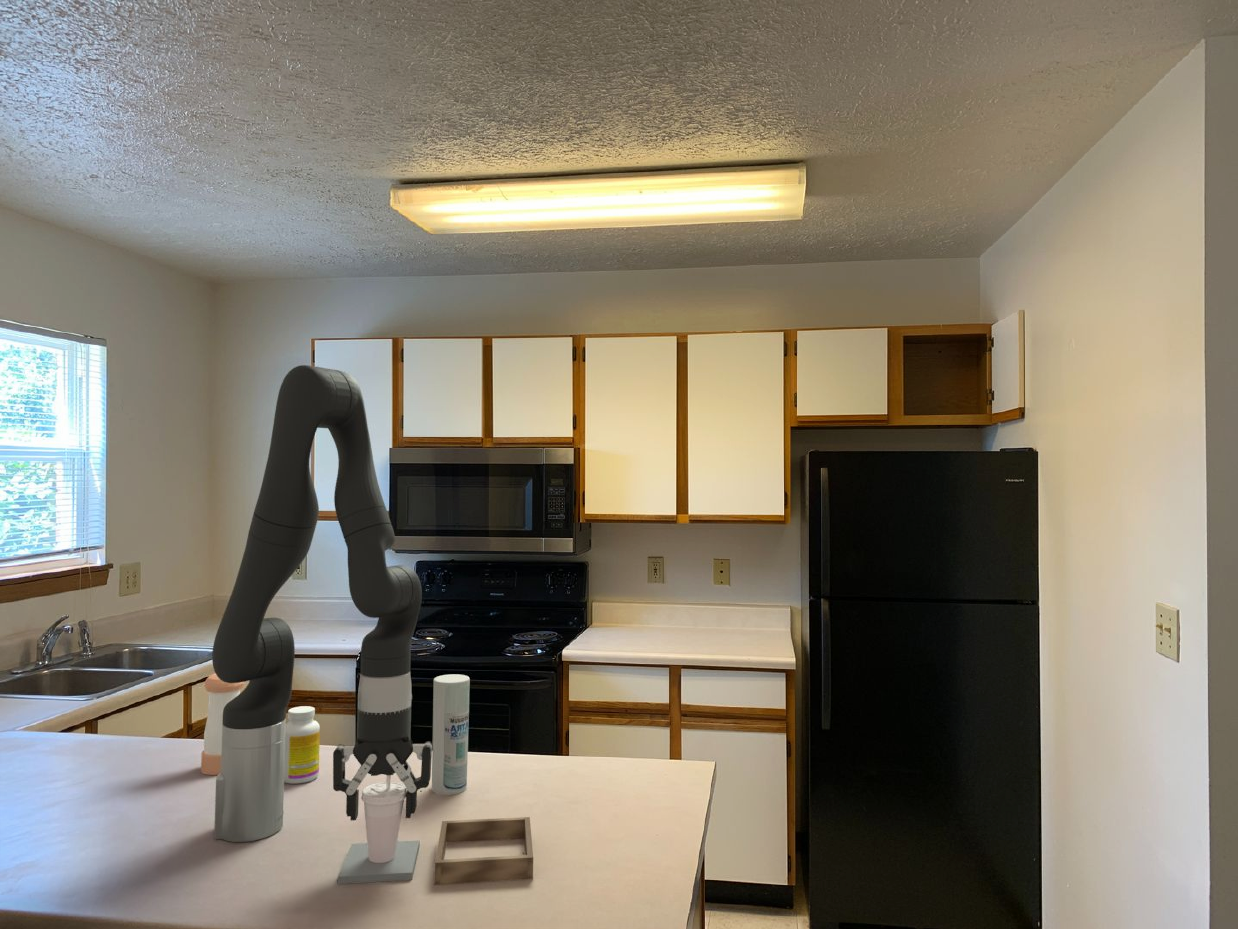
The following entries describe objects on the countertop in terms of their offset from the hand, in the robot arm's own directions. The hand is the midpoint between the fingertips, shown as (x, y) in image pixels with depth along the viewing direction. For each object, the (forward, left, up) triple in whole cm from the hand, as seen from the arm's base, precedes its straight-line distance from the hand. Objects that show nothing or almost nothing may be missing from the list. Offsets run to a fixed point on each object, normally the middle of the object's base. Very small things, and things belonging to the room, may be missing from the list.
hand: (381, 817), depth 113 cm
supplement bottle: (-20, +36, -7) cm, 42 cm away
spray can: (+8, +28, -7) cm, 30 cm away
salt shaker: (-36, +43, -7) cm, 57 cm away
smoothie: (0, 0, -6) cm, 6 cm away
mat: (0, 0, -7) cm, 7 cm away
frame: (+15, 0, -7) cm, 16 cm away
